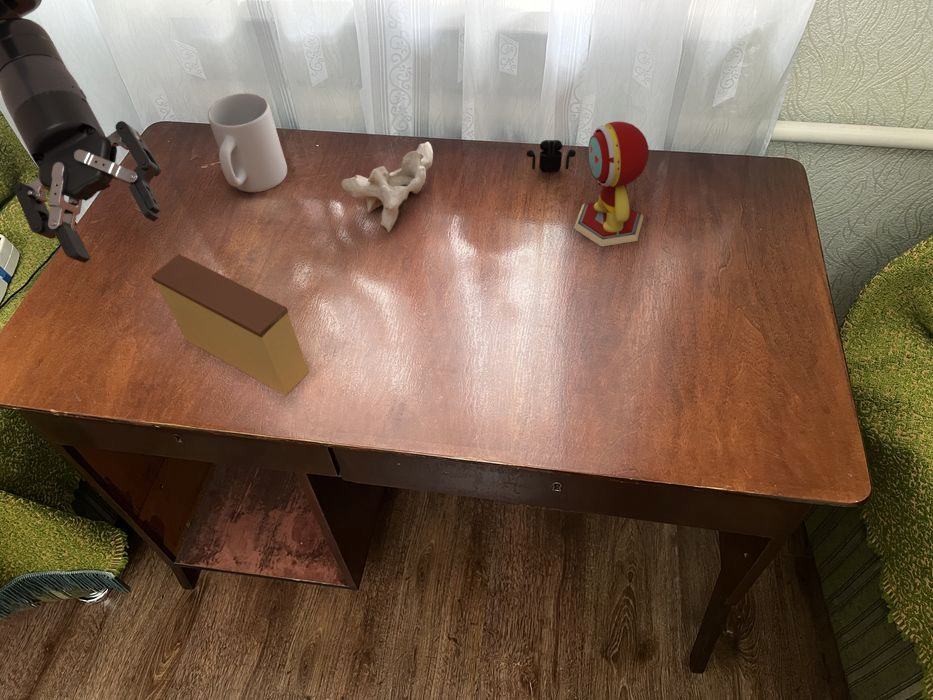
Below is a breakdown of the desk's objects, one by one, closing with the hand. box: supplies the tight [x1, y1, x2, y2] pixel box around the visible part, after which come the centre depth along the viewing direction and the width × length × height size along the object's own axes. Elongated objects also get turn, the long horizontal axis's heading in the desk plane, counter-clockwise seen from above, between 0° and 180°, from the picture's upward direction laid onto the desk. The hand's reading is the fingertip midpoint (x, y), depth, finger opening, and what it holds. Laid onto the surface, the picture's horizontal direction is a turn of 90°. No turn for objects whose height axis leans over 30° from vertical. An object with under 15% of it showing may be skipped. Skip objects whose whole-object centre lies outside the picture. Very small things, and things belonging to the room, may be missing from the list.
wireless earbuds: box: [526, 139, 577, 172], centre depth 101 cm, size 7×2×5 cm, turn 88°
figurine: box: [573, 120, 650, 247], centre depth 89 cm, size 9×10×15 cm
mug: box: [207, 92, 288, 193], centre depth 99 cm, size 12×8×11 cm
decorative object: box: [340, 141, 434, 234], centre depth 96 cm, size 9×14×8 cm, turn 140°
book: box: [150, 253, 310, 397], centre depth 78 cm, size 16×4×11 cm, turn 58°
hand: (117, 238), depth 72 cm, fingers open, 8 cm apart
